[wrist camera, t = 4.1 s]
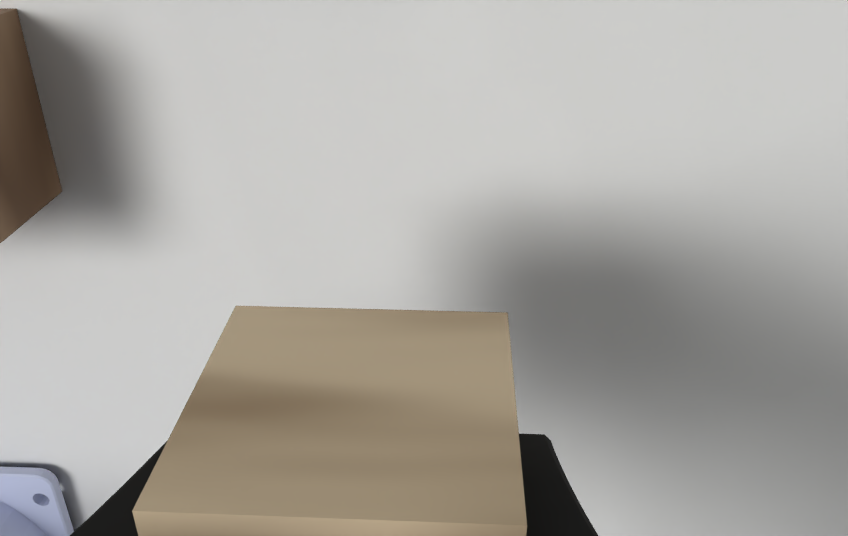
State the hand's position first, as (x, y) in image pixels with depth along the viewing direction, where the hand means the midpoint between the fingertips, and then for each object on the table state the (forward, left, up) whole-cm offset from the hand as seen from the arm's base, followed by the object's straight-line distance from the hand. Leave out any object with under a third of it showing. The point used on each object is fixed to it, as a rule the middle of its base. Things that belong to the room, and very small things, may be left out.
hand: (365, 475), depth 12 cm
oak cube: (0, 0, -2) cm, 2 cm away
